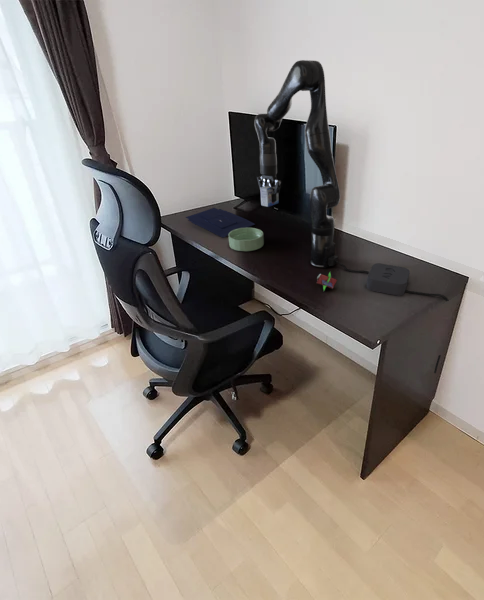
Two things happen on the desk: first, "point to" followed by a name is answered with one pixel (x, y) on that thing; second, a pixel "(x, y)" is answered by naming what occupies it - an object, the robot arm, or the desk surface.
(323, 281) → the geometric puzzle
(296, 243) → the desk surface
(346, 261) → the desk surface
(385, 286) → the streaming box
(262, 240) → the bowl
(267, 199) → the medicine box
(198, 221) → the folded navy cloth
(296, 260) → the desk surface
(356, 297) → the desk surface
